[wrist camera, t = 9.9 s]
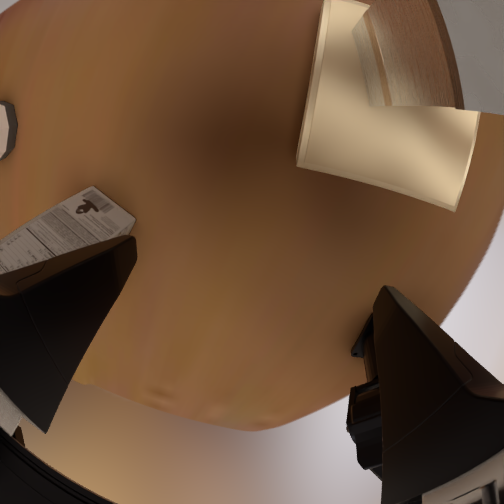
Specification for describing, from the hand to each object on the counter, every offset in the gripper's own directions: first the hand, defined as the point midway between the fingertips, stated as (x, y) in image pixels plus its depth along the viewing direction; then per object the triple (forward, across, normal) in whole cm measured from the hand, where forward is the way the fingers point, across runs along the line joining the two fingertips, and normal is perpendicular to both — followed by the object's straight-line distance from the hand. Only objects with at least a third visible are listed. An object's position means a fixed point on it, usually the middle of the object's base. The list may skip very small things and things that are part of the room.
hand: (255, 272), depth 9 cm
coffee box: (+13, +17, +8) cm, 23 cm away
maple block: (+13, -7, -8) cm, 17 cm away
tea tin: (+9, -6, -10) cm, 15 cm away
